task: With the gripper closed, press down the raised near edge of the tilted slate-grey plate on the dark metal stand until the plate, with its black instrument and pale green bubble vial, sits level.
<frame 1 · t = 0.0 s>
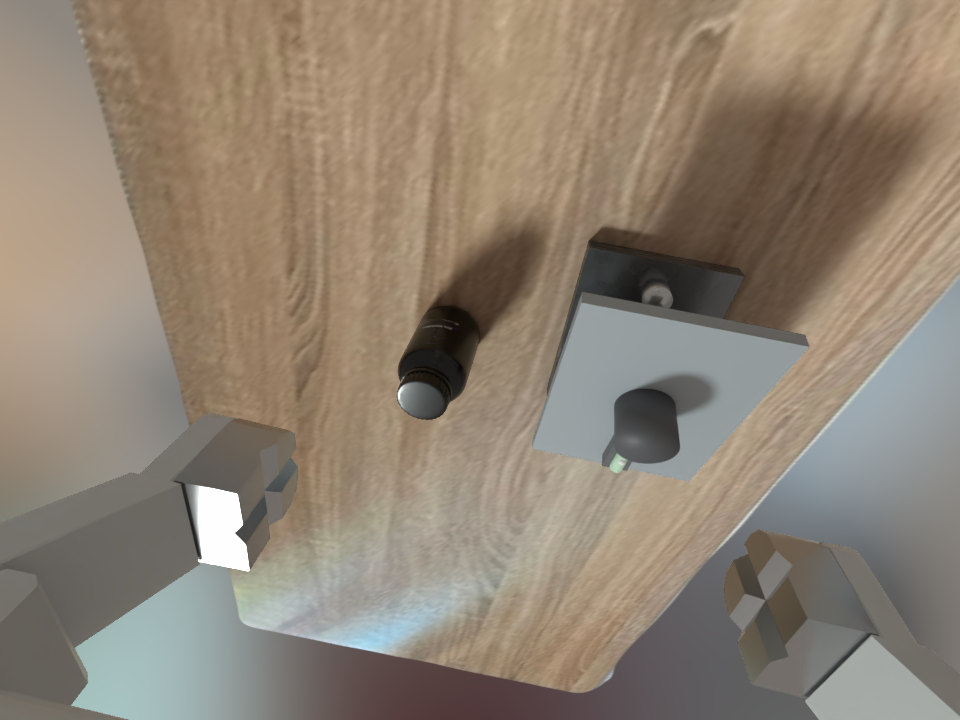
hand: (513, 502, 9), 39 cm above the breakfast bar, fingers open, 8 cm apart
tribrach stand: (632, 334, 51), on the breakfast bar
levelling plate: (644, 417, 41), point 12 cm above the breakfast bar, hinge at 12.0°
supplement bottle: (450, 329, 54), on the breakfast bar
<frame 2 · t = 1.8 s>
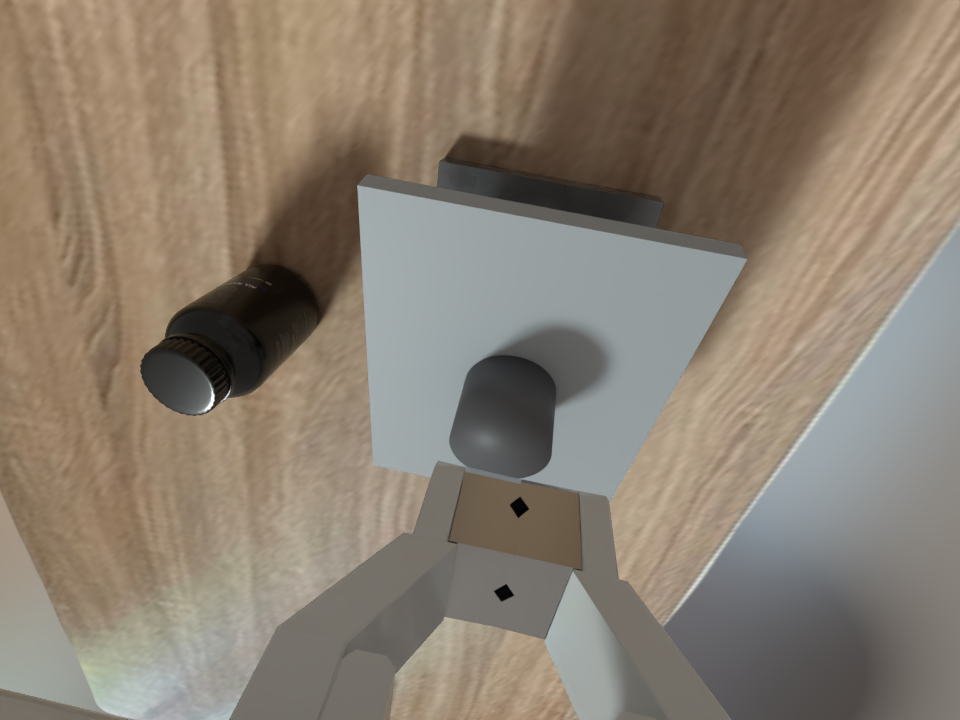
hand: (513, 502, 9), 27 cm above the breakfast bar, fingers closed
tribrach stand: (523, 303, 36), on the breakfast bar
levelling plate: (507, 404, 26), point 12 cm above the breakfast bar, hinge at 12.0°
supplement bottle: (281, 301, 39), on the breakfast bar
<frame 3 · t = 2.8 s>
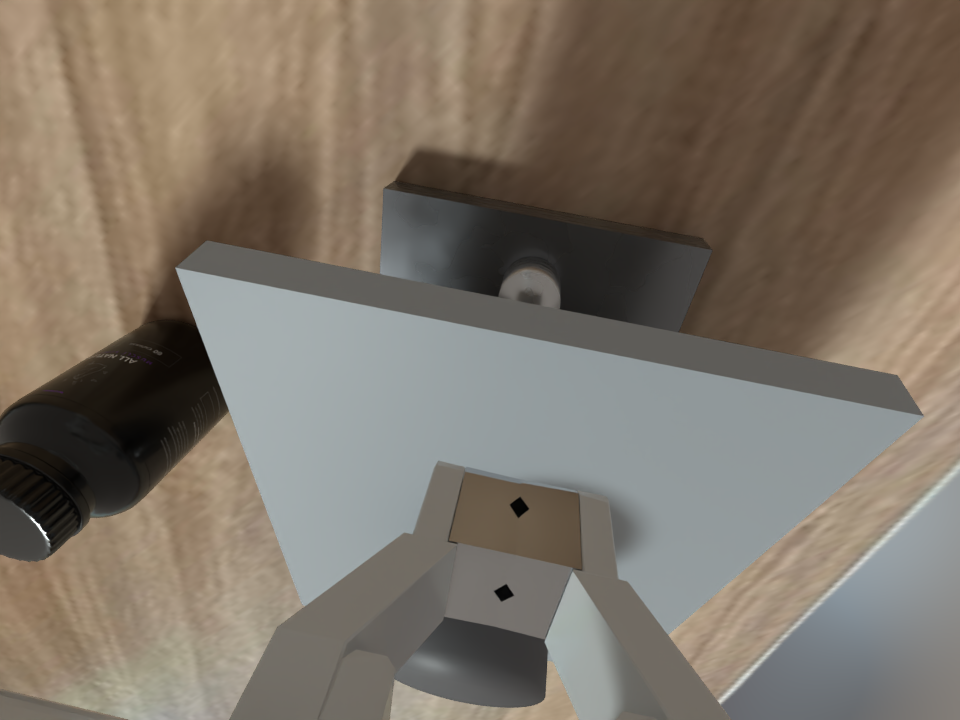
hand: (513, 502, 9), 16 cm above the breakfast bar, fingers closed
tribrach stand: (510, 374, 27), on the breakfast bar
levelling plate: (476, 581, 16), point 12 cm above the breakfast bar, hinge at 12.0°
supplement bottle: (192, 364, 30), on the breakfast bar
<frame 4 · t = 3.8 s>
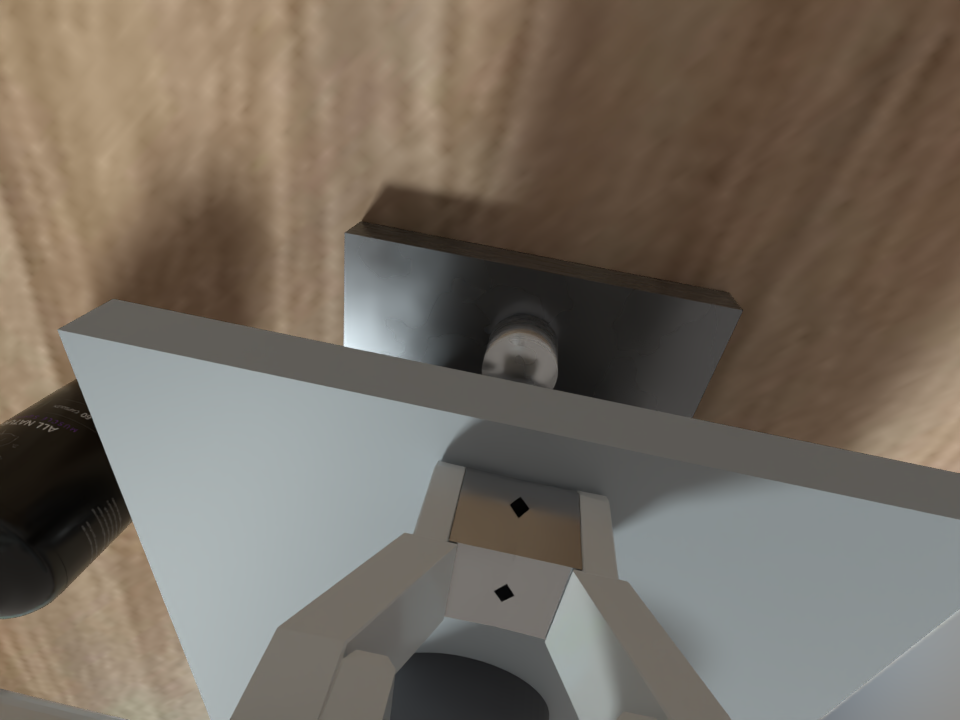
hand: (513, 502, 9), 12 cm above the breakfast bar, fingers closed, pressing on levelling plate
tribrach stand: (500, 439, 23), on the breakfast bar
supplement bottle: (138, 420, 26), on the breakfast bar
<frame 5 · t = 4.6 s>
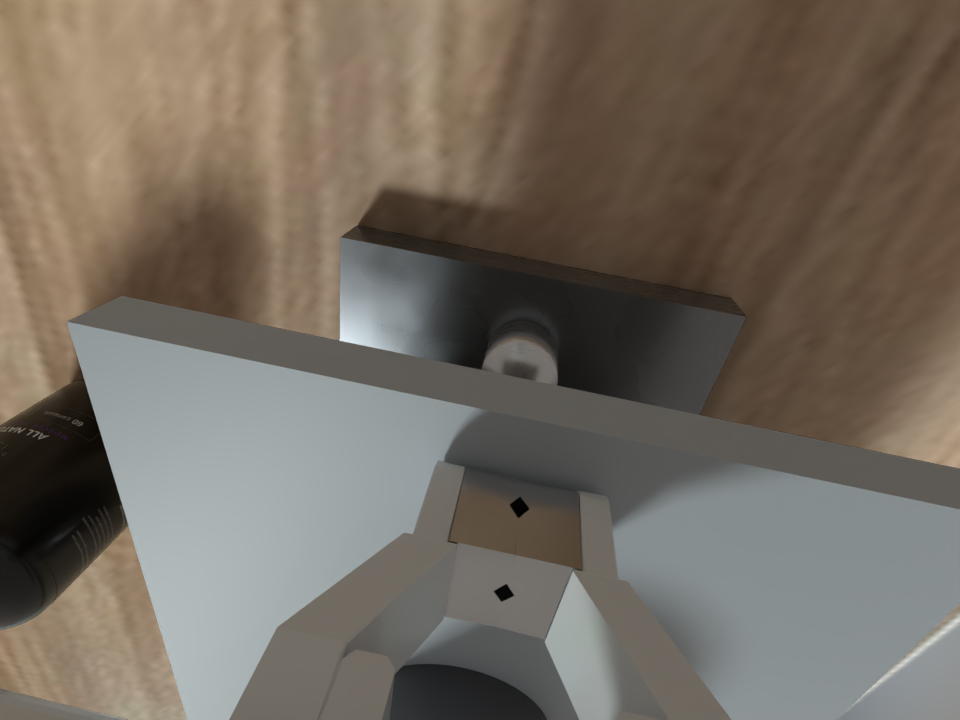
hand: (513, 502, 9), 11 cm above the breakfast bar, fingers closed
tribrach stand: (499, 446, 23), on the breakfast bar
supplement bottle: (131, 425, 26), on the breakfast bar
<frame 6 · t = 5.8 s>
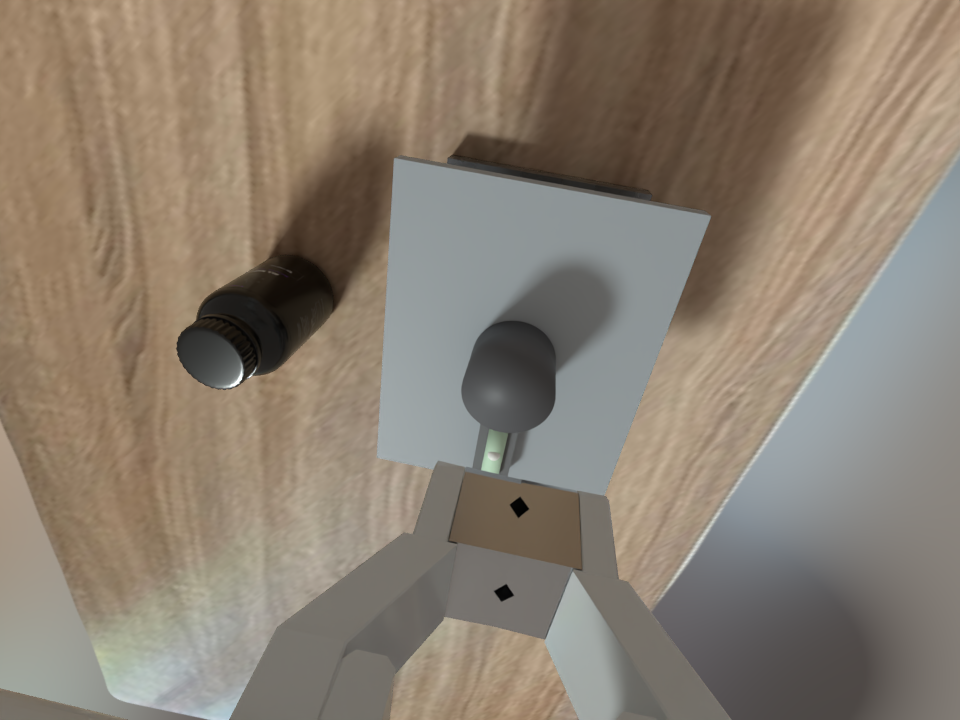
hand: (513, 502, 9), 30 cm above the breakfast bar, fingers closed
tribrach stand: (524, 290, 39), on the breakfast bar
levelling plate: (512, 367, 28), point 12 cm above the breakfast bar, hinge at -0.6°
supplement bottle: (298, 290, 42), on the breakfast bar
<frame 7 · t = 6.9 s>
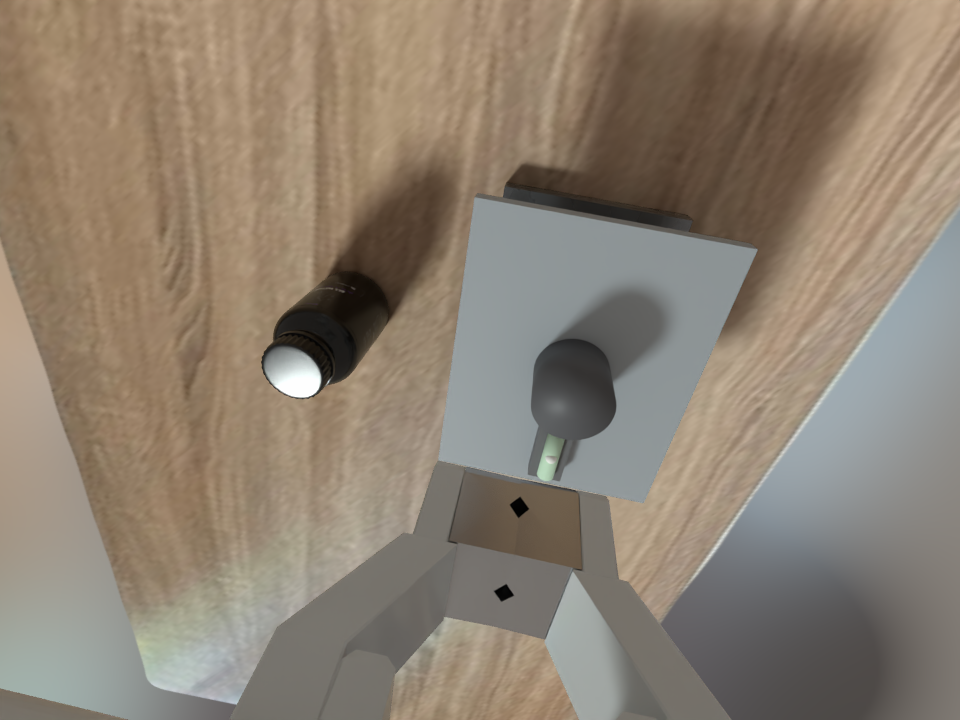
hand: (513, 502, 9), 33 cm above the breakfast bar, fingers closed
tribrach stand: (568, 304, 42), on the breakfast bar
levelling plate: (571, 381, 31), point 12 cm above the breakfast bar, hinge at -0.6°
supplement bottle: (355, 303, 45), on the breakfast bar
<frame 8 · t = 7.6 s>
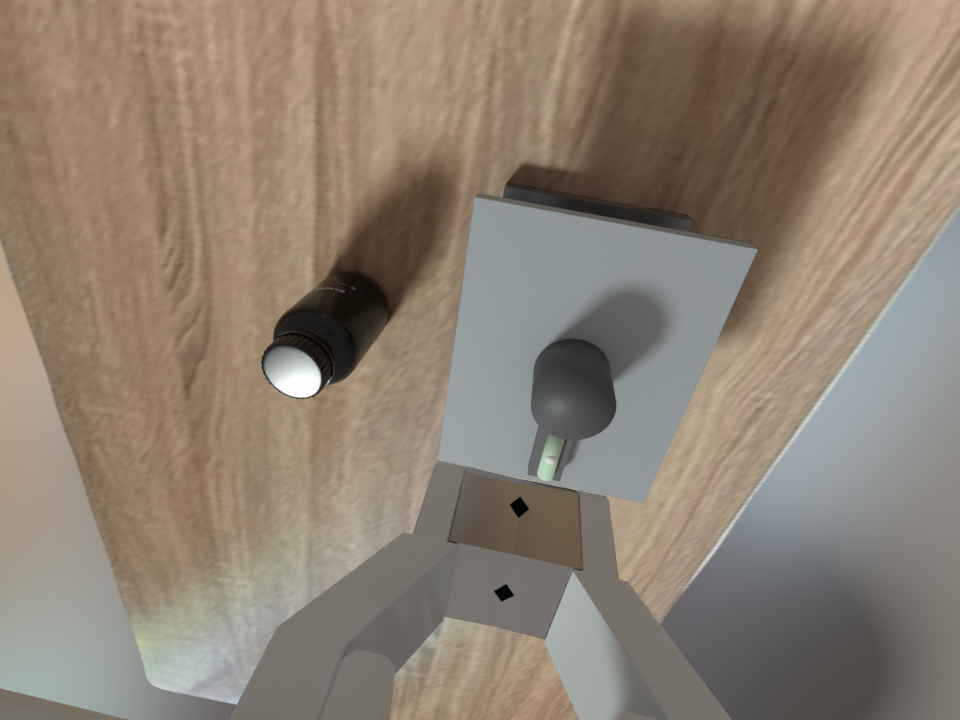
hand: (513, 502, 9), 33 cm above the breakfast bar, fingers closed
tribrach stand: (568, 304, 42), on the breakfast bar
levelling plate: (571, 381, 31), point 12 cm above the breakfast bar, hinge at -0.6°
supplement bottle: (355, 303, 45), on the breakfast bar
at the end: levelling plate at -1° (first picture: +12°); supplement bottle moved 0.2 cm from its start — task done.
